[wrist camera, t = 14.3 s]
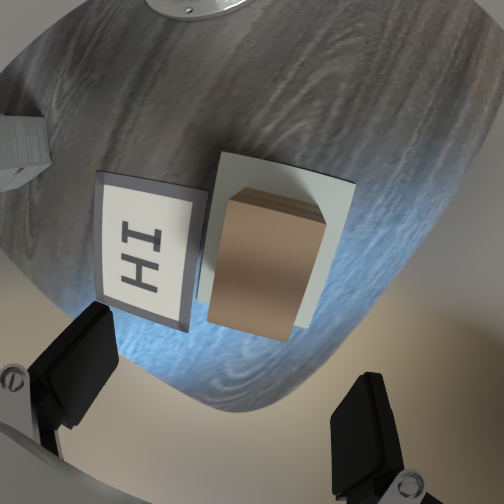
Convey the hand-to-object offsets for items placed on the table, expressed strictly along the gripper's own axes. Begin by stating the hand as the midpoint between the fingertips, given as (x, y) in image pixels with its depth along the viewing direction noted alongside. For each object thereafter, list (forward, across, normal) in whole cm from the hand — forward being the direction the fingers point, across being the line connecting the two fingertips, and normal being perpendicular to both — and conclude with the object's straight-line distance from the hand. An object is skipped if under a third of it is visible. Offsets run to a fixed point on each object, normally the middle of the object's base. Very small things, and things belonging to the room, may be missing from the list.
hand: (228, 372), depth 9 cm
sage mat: (+15, 0, +1) cm, 15 cm away
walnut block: (+15, 0, +1) cm, 15 cm away
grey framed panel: (+15, +12, +5) cm, 20 cm away
